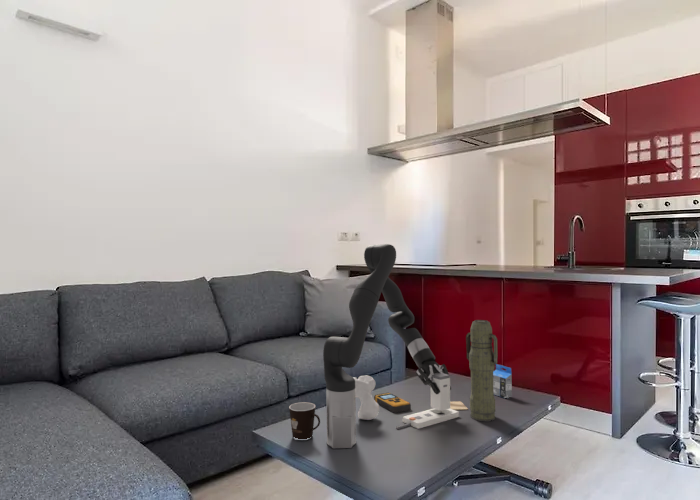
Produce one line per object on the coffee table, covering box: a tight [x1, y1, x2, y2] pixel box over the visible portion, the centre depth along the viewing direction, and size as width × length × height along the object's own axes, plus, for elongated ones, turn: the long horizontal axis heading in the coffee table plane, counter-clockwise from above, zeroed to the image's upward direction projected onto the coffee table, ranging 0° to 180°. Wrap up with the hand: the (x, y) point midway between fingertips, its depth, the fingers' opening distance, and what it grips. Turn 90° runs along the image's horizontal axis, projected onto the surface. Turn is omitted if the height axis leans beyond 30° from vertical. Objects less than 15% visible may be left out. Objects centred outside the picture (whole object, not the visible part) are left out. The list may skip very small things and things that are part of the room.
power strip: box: [395, 408, 460, 430], centre depth 159 cm, size 8×26×2 cm, turn 124°
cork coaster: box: [450, 400, 469, 411], centre depth 175 cm, size 9×9×1 cm
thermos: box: [465, 319, 499, 422], centre depth 163 cm, size 9×12×35 cm
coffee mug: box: [288, 401, 321, 439], centre depth 145 cm, size 12×9×10 cm
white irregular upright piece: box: [352, 374, 380, 421], centre depth 162 cm, size 10×11×15 cm
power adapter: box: [430, 373, 451, 411], centre depth 164 cm, size 5×5×12 cm
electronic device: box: [373, 392, 412, 414], centre depth 176 cm, size 8×16×3 cm, turn 27°
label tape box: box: [493, 363, 513, 399], centre depth 188 cm, size 9×4×12 cm, turn 28°
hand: (444, 391), depth 162 cm, fingers closed on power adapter, 5 cm apart
